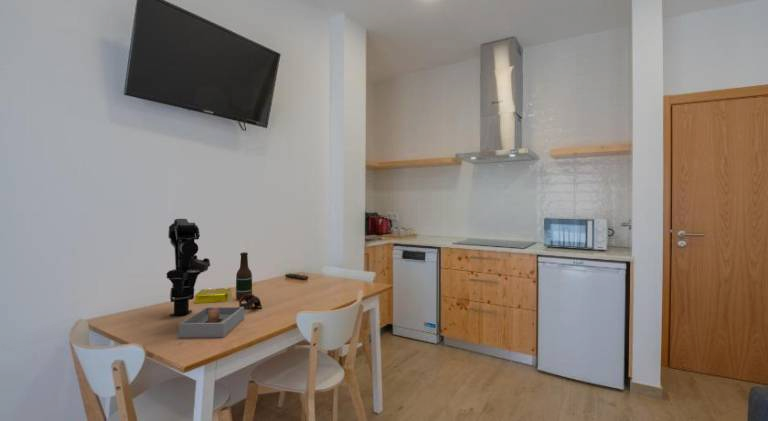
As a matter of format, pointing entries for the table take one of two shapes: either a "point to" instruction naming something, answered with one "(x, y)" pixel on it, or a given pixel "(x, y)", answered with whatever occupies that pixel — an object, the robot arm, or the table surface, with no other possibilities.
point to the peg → (213, 315)
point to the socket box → (201, 328)
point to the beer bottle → (243, 278)
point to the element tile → (213, 295)
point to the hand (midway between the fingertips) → (186, 291)
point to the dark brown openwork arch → (250, 301)
